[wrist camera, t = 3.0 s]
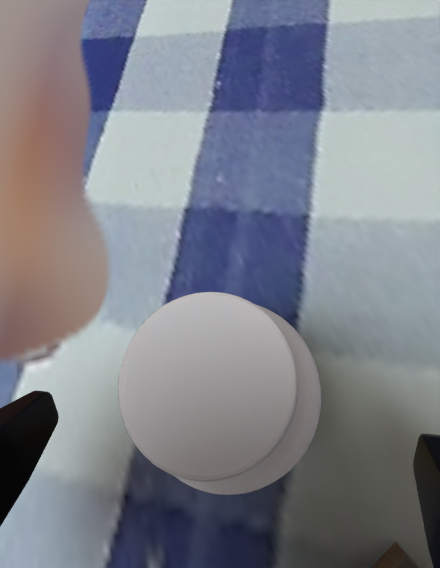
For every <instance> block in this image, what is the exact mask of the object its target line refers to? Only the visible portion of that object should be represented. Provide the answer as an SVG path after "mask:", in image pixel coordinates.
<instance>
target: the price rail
mask: <svg viewBox="0 0 440 568" xmlns="http://www.w3.org/2000/svg"><path fill="white" fill-rule="evenodd" d="M373 568H419V567H418V566H417V565H416V563H415V562H414V561H413V560H412V559H411V558H410V557H409V556H408V555H407V554H406V553H405V551H404V550H403V549H402V548H401V547H400V546H399V545H398V544H397V543H396V542H395V543H394V544H393V545H392V547H391V548H390V549H389V550H388V551H387V552H386V553H385V554H384V555H383V557H382V558H381V559H380V560H379V561H378V562H377V563H376V564H375V566H374V567H373Z"/></svg>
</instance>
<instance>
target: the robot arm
mask: <svg viewBox="0 0 440 568" xmlns="http://www.w3.org/2000/svg"><path fill="white" fill-rule="evenodd" d="M57 422H58V412H57V409H56V406H55V403H54V400H53V397H52V395H51V394H50V393H49V392H44V391H33V392H31V393H29V394H27V395H25V396H23V397H21V398H19V399H17V400H16V401H14V402H12V403H10V404H8V405H6V406H4V407H2V408H0V526H1V525H2V523H3V521H4V520H5V518H6V516H7V515H8V513H9V512H10V510H11V508H12V507H13V505H14V503H15V502H16V500H17V499H18V497H19V495H20V494H21V492H22V490H23V489H24V487H25V485H26V484H27V482H28V480H29V478H30V476H31V475H32V473H33V471H34V469H35V467H36V465H37V463H38V461H39V459H40V457H41V455H42V453H43V451H44V449H45V447H46V445H47V443H48V441H49V439H50V437H51V435H52V433H53V431H54V429H55V427H56V425H57ZM413 468H414V475H415V480H416V485H417V491H418V496H419V501H420V507H421V512H422V517H423V522H424V528H425V533H426V538H427V543H428V548H429V552H430V556H431V560H432V563H433V567H434V568H440V435H433V434H421V435H420V436H419V439H418V443H417V447H416V452H415V456H414V461H413Z"/></svg>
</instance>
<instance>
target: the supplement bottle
mask: <svg viewBox="0 0 440 568" xmlns="http://www.w3.org/2000/svg"><path fill="white" fill-rule="evenodd" d="M118 398H119V406H120V411H121V415H122V419H123V422H124V425H125V427H126V430H127V432H128V434H129V436H130V437H131V439H132V441H133V442H134V443H135V445H136V446H137V448H138V449H139V450H140V452H141V453H142V454H143V455H144V456H145V457H146V458H147V459H148V460H149V461H150V462H151V463H153V464H154V465H155V466H157V467H158V468H160V469H161V470H163V471H165V472H167V473H169V474H171V475H173V476H175V477H176V478H177V479H179V480H180V481H182V482H184V483H185V484H187V485H189V486H191V487H193V488H196V489H198V490H201V491H205V492H208V493H213V494H220V495H234V494H243V493H248V492H252V491H255V490H258V489H261V488H263V487H265V486H267V485H269V484H271V483H273V482H275V481H277V480H278V479H280V478H281V477H283V476H284V475H285V474H286V473H288V472H289V471H290V470H291V469H292V468H293V467H294V466H295V465H296V464H297V463H298V462H299V460H300V459H301V458H302V457H303V455H304V454H305V452H306V451H307V449H308V447H309V446H310V444H311V442H312V440H313V437H314V434H315V432H316V429H317V425H318V421H319V417H320V411H321V386H320V379H319V374H318V370H317V367H316V364H315V361H314V358H313V356H312V354H311V352H310V350H309V348H308V347H307V345H306V343H305V342H304V340H303V339H302V337H301V336H300V335H299V334H298V333H297V331H296V330H295V329H294V328H293V327H292V326H291V325H290V324H289V323H287V322H286V321H285V320H284V319H283V318H281V317H280V316H278V315H277V314H275V313H274V312H272V311H270V310H268V309H266V308H263V307H261V306H258V305H255V304H253V303H251V302H249V301H247V300H245V299H243V298H241V297H238V296H234V295H230V294H226V293H219V292H203V293H194V294H190V295H187V296H183V297H181V298H178V299H176V300H173V301H171V302H169V303H167V304H166V305H164V306H163V307H161V308H160V309H158V310H157V311H155V312H154V313H153V314H152V315H151V316H150V317H149V318H148V319H147V320H146V321H145V322H144V323H143V324H142V326H141V327H140V328H139V329H138V331H137V332H136V333H135V335H134V336H133V338H132V340H131V341H130V343H129V345H128V347H127V350H126V352H125V355H124V357H123V360H122V364H121V368H120V374H119V382H118Z"/></svg>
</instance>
